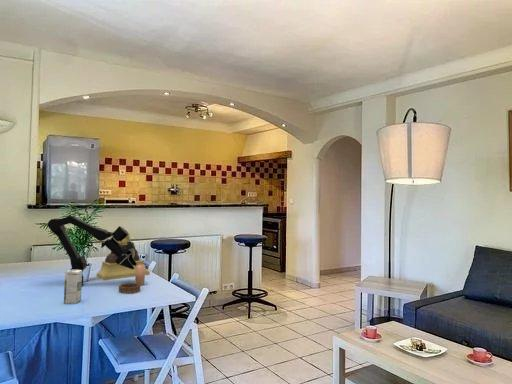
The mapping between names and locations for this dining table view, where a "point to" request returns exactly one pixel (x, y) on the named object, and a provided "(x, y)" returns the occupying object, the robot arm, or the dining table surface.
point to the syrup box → (72, 286)
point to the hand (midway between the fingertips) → (135, 267)
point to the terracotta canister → (140, 274)
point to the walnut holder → (129, 288)
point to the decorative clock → (117, 271)
